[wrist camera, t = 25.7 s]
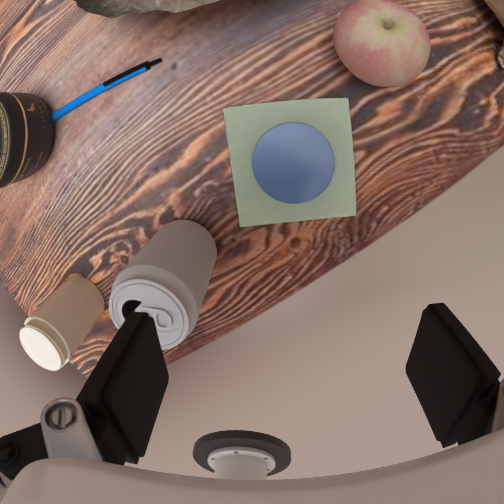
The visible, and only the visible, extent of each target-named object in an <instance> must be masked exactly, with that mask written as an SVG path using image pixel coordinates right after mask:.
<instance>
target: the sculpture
mask: <svg viewBox="0 0 504 504" xmlns="http://www.w3.org/2000/svg"><path fill="white" fill-rule="evenodd" d="M484 1H485V2H486V4H487V5H488V6H489V8H490V9H491V10H492V11H493V12H494V13H495V15H496V17H497V18H498V20H499V21H500V23H501V24H502V26H503V27H504V0H484ZM496 59H497V62H498V64H499V65H500V66H501V67H502V68H503V69H504V41H503V46H502V47H500V46H499V47H497V57H496Z"/></svg>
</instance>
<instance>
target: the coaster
mask: <svg viewBox="0 0 504 504" xmlns="http://www.w3.org/2000/svg"><path fill="white" fill-rule="evenodd" d="M223 112H224V119H225V127H226V134H227V141H228V148H229V155H230V162H231V169H232V176H233V183H234V190H235V197H236V204H237V211H238V217H239V224H240V227H247V226H256V225H265V224H274V223H284V222H294V221H304V220H314V219H324V218H335V217H346V216H356V188H355V168H354V153H353V140H352V129H351V119H350V110H349V101H348V98H321V99H302V100H288V101H277V102H266V103H257V104H249V105H241V106H234V107H227V108H223ZM289 122H291V123H302V124H305V125H308V126H312V127H313V128H314V129H316V130H318V131H319V132H320V133H322V135H323V136H324V137H325V138H326V139H327V141H328V142H329V144H330V146H331V148H332V150H333V154H334V159H335V168H334V174H333V177H332V179H331V181H330V183H329V185H328V187H327V188H326V189H325V190H324V191H323V192H322V193H321V194H320V195H319V196H317V197H316V198H314V199H312V200H310V201H307V202H304V203H298V204H289V203H284V202H280V201H278V200H275V199H273V198H272V197H270V196H269V195H267V194H266V193H265V192H264V191H263V190H262V189H261V187H260V186H259V185H258V183H257V181H256V179H255V177H254V173H253V168H252V166H251V165H252V157H253V156H252V153H253V152H254V149H255V147H256V145H255V144H257V143H258V141H259V139H260V138H261V137H262V136H261V135H264V134H265V133H266V132H267V131H268V130H269V129H270V128H273V127H275V126H278V125H279V124H284V123H289Z"/></svg>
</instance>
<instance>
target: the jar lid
mask: <svg viewBox="0 0 504 504" xmlns="http://www.w3.org/2000/svg"><path fill="white" fill-rule="evenodd" d="M261 136H262V137H261V138H260V139H259V141H258V143H257V144H255V145H256V147H255V149H254V152H253V153H252V156H253V157H252V165H251V166H252V168H253V173H254V177H255V179H256V181H257V183H258V185H259V186H260V187H261V189H262V190H263V191H264V192H265V193H266V194H267V195H269V196H270V197H272V198H273V199H275V200H278V201H280V202H284V203H289V204H298V203H304V202H307V201H310V200H312V199H314V198H316V197H317V196H319V195H320V194H321V193H322V192H323V191H324V190H325V189H326V188H327V187H328V185H329V183H330V181H331V179H332V177H333V174H334V168H335V159H334V154H333V150H332V148H331V146H330V144H329V142H328V141H327V139H326V138H325V137H324V136H323V135H322V133H320V132H319V131H318V130H316V129H314V128H313V127H312V126H308V125H305V124H302V123H291V122H289V123H284V124H279V125H278V126H275V127H273V128H270V129H269V130H268V131H267V132H266V133H265V134H264V135H261Z"/></svg>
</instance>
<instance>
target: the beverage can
mask: <svg viewBox="0 0 504 504" xmlns="http://www.w3.org/2000/svg"><path fill="white" fill-rule="evenodd" d="M216 259H217V248H216V244H215V241H214V239H213V237H212V236H211V234H210V233H209V232H208V231H207V230H206V229H205V228H204V227H203V226H201V225H200V224H198V223H196V222H193V221H190V220H175V221H172V222H169V223H167V224H166V225H164V226H163V227H162V228H161V229H160V230H159V231H158V232H157V233H156V234H155V235H154V236H153V237H152V238H151V239H150V240H149V242H148V243H147V244H146V245H145V246H144V247H143V248H142V249H141V250H140V251H139V253H138V254H137V255H136V256H135V257H134V258H133V259H132V260H131V261H130V263H129V264H128V265H127V266H126V267H125V268H124V269H123V271H122V272H121V273H120V274H119V275H118V276H117V278H116V279H115V282H114V284H113V286H112V291H111V296H110V299H109V312H110V316H111V319H112V321H113V323H114V325H115V326H116V328H117V329H118V330H119V329H120V327H121V326H122V324H123V322H124V321H125V319H126V318H127V316H128V315H129V313H130V312H147V313H148V314H149V317H153V318H154V321H155V325H156V329H157V333H158V337H159V341H160V345H161V349H162V350H166V349H170V348H173V347H175V346H177V345H178V344H180V343H181V342H182V341H183V339H184V338H185V337H186V336H187V335H189V334H190V333H191V331H192V330H193V329H194V327H195V325H196V322H197V319H198V316H199V313H200V309H201V306H202V303H203V300H204V297H205V294H206V290H207V287H208V284H209V281H210V278H211V275H212V272H213V269H214V266H215V263H216Z"/></svg>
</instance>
